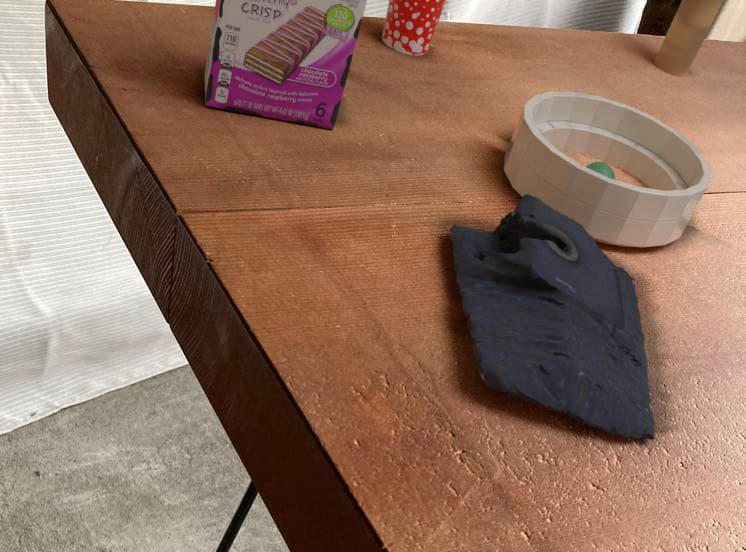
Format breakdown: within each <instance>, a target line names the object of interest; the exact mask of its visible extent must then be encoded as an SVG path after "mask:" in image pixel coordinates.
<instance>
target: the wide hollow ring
mask: <svg viewBox="0 0 746 552" xmlns="http://www.w3.org/2000/svg"><path fill="white" fill-rule="evenodd" d="M564 152H569V153H574V154H581V155H585V156H588V157H591V158H594V159H597V160H601V161H604V162H605V163H607V164H610V165H612V166H615V167H617V168H619V169H621V170H623V171H624V172H626V173H628V174H630V175H631V176H633V177H634V178H636V179H637V180H639V181H641V183H643V184H644V185H645V186H646V187H643V186H637V185H634V184H630V183H628V182H624V181H621V180H617V179H616V178H615V179H611V178H609V177H607V176H604V175H602V174H600V173H598V172H596V171H593V170H591V169H589V168H587V167H586V166H585V165H583V164H581V163H579V162H578V161H577V160H575V159H573V158H571V157H570V156H568V155H567V154H565V153H564ZM503 157H504V159H503V160H504V161H503V171H504V173H505V175H506V178H507V179H508V181H509V183H510V185H511V187H512V188H513V190H515V191H516V192H517V194H519V195H520V197H521V198H522V197H523V196H524V195H525V194H526V195H531V196H533V197H537V198H539V199H540V200H541V201H542V202H544V203H545V204H546V205H548V206H550V207H551V208H552V209H554V210H555V211H558V212H560V213H561V214H563V215H566V216H568V217H569V218H571V219H573V220H575V221H576V222H578V223H579V224H581V225H582V226H583V227H584V229H585V230H586V231H587V232H588V233H589V234H590V235H591V236H592V237H593V238H594V239H595V242H596V243H601V244H606V245H609V246H617V247H624V248H651V247H661V246H666V245H668V244H670V243H673V242H674V241H677V240H678V239H680V238H681V236H682V234H683V233H684V231H685V229H686V227H687V226H688V224H689V222H690V220H691V219H692V216H693V215H694V213H695V211H696V209H697V207H698V206H699V204H700V202H701V200H702V198H703V196H704V195H705V193H706V192H707V190H708V188H709V186H710V184H711V181H712V179H713V172H712V169H711V166H710V165H711V164H710V162H709V161H708V159H706V157H705V155H704V154H703V153H702V152H701V151H700V150H699V148H698V147H697V146H696V145H695V144H694V143H693V142H691V141H690V140H689V139H688V138H687V137H685V136H684V135H683V134H682V133H680V131H678V130H676V129H675V128H673V127H671V126H669V125H668V124H666V123H664V122H662V120H659V119H657V118H656V117H654V116H653V115H650V114H648V113H646V112H643V111H641V110H639V109H637V108H635V107H632V106H630V105H628V104H625V103H622V102H620V101H615V100H612V99H610V98H606V97H603V96H600V95H596V94H595V95H594V94H589V93H584V92H577V91H560V90H559V91H555V90H554V91H553V90H551V91H547V92H542V93H539V94H535V95H533V96H532V97H531V98H530V99H529V100H527V102H525V104H524V105H523V107H522V109H521V113H520V115H519V117H518V120H517V123H516V125H515V128H514V131H513V133H512V136H511V139H510V141H509V143H508V146H507V149H506V152H505V154H504V156H503Z"/></svg>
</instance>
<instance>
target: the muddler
mask: <svg viewBox="0 0 746 552" xmlns="http://www.w3.org/2000/svg"><path fill="white" fill-rule="evenodd" d="M723 3H724V0H681V2H680V4H679V6H678V8H677V11H676V13H675V15H674V17H673V20H672V21H671V23H670V26H669V28H668V30H667V31H666V34H665V37H664V39H663V40H662V43H661V45H660V47H659V49H658V51H657V53H656V55H655V58H654V60H653V64H654V66H655V67H656V68H657V69H659V70H660V71H662V72H664V73H666V74H668V75H670V76H671V75H672V76H674V77H681V78H684V77H687V75H688V74H689V72H690V69H691V68H692V65H693V63H694V61H695V59H696V57H697V55H698V53H699V52H700V49H701V47H702V45H703V43H704V41H705V39H706V37H707V35H708V33H709V31H710V29H711V27H712V25H713V23H714V20H715V19H716V17H717V14H718V13H719V12H720V11H719V10H720V9H721V8H722V7H721V6H722V5H723Z"/></svg>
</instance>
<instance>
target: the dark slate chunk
mask: <svg viewBox="0 0 746 552" xmlns="http://www.w3.org/2000/svg"><path fill="white" fill-rule="evenodd" d="M449 232H450V242H451V243H452V256H453V266H454V269H453V271H454V273H455V274H456V276H455V281H456V283H457V284H458V287H457V290H458V293H459V294H460V296H461V305H462V311H463V312H462V313H463V315H464V317H465V318H466V320H467V329H468V331H469V336H470V339H471V345H472V348H473V354H474V355H473V356H474V357H473V358H474V363H475V366H476V368H477V370H478V373H479V375H480V378H481V379H482V382H483V383H484V384H485V385H486V386H487V388H489V389H493V390H495V391H500V392H503V393H504V394H505V393H506V394H508V395H511V396H515V397H517V398H518V399H520V400H523V401H525V402H528V403H532V404H536V405H538V406H540V407H542V408H545V409H547V410H551V411H555V412H559V413H563V414H564V415H566V416H568V417H570V418H572V419H573V420H575V421H577V422H578V423H581V424H584V425H586V426H589V427H592V428H596V429H599V430H601V431H604V432H608V433H610V434H613V435H614V436H617V437H621V438H632V439H641V438H643V439H647V440H650V441H651V440H652V441H654V440H655V438H656V435H655V431H656V429H655V419H654V415H653V412H652V409H651V407H650V404H651V402H652V398H651V395H650V393H651V389H650V385H649V373H648V360H647V352H646V350H645V333H644V332H643V328H642V318H641V313H640V309H639V297H638V296H637V295H638V294H637V292H636V278H634V277H632V276H631V275H630V274H629V272H627V270H626V269H625V268H623V267H622V266H617V265H616V264H615V263H614V262H613V261H612V259H610V258H609V257H608V255H607V254H606V253H605V252H603V250H602V249H600V247H599V246H598V244H597V241H595V239H594V238H593V237H592V236H591V235H590V234H589V233H588V232H587V231H586V230H585V229H584V227H583V226H582V225H581V224H579V223H578V222H576V221H575V220H573V219H571V218H569V217H568V216H566V215H563V214H561V213H560V212H558V211H555V210H554V209H552V208H551V207H550V206H548V205H546V204H545V203H544V202H542V201H541V200H540V199H539V198H537V197H533V196H531V195H526V194H525V195H524V196H523V197H522V196H521V199H520V200H518V203H517V205H516V206H515V208H514V210H512V211H509V212H508V213H506V215H505V216H504V217H502V218H501V219H500V221H499V224H498V225H497V226H496V228H495V229H494V230H493V231H492V230H486V229H485V230H484V229H475V228H473V227H470V226H464V225H457V224H453V225H452V226H451V227H450V229H449Z"/></svg>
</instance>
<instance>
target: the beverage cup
mask: <svg viewBox="0 0 746 552" xmlns="http://www.w3.org/2000/svg"><path fill="white" fill-rule="evenodd" d="M446 2H447V0H388V5H387V9H386V15H385V20H384V24H383V29H382V35H381V39H382V42H383V43H384V44H385V45H386V46H387V47H389V48H391V49H392V50H394V51H396V52H399V53H402V54H406V55H409V56H418V57H420V56H423V55H426V54H427V53H428V52H429V49H430V46H431V44H432V41H433V38H434V37H435V32H436V30H437V27H438V24H439V21H440V18H441V17H442V16H441V15H442V14H443V10H444V8H445V6H446Z"/></svg>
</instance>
